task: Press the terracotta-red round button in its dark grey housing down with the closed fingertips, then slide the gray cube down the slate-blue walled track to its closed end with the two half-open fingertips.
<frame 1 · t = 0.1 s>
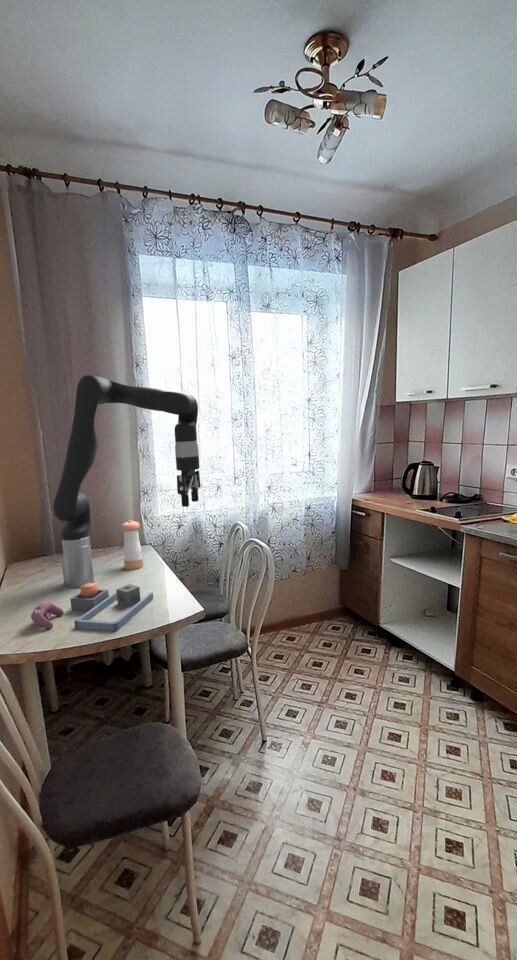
hand: (190, 503, 143), 29 cm above the table, tool pointing down, fingers open, 8 cm apart
pepper shaker: (134, 567, 173), on the table
button housing: (90, 606, 136), on the table
gray cube: (129, 603, 137), on the table
track: (117, 612, 130), on the table
button: (89, 590, 135), point 5 cm above the table, slide at 0.0 cm
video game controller: (48, 623, 126), on the table
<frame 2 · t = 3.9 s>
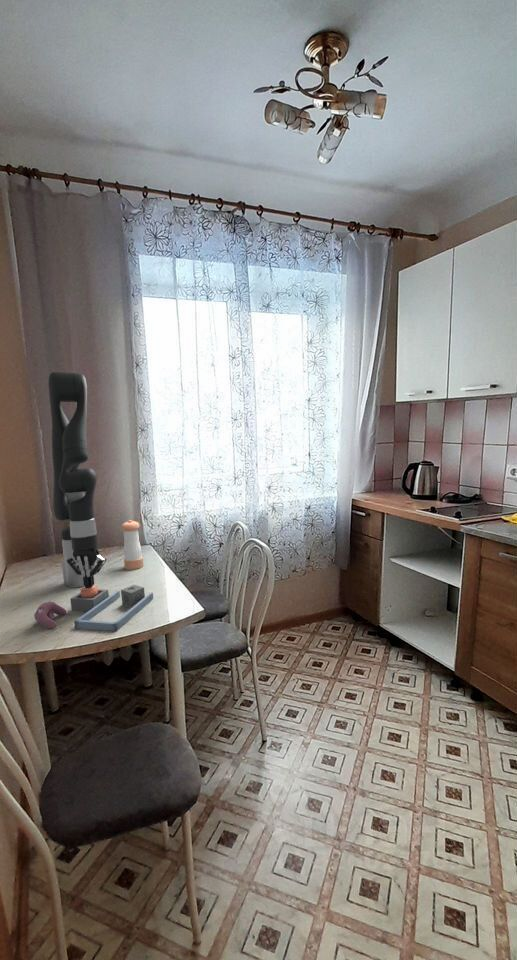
hand: (89, 587, 135), 6 cm above the table, tool pointing down, fingers closed
gray cube: (133, 604, 136), on the table
button: (89, 592, 135), point 5 cm above the table, slide at 0.7 cm, touching gripper
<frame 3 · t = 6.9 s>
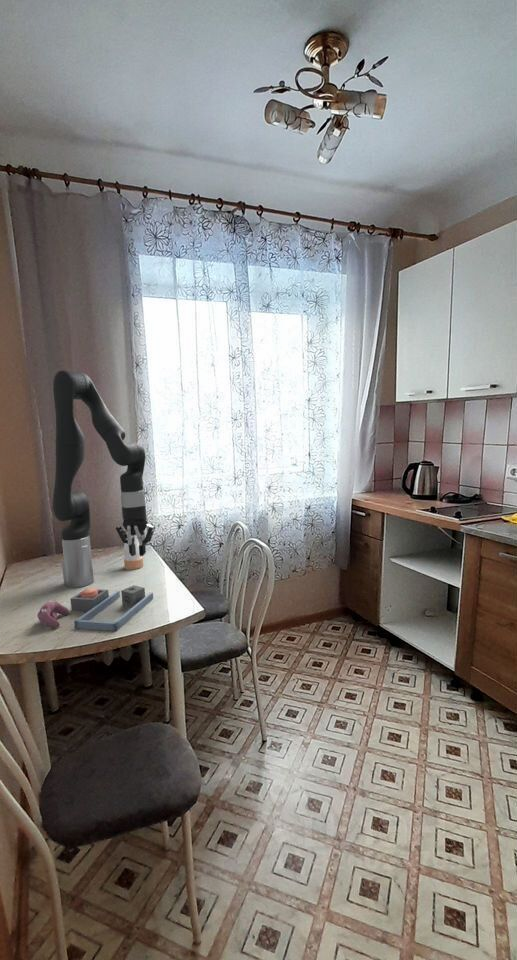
hand: (137, 555, 143), 13 cm above the table, tool pointing down, fingers closed
button: (89, 596, 135), point 3 cm above the table, slide at 1.9 cm
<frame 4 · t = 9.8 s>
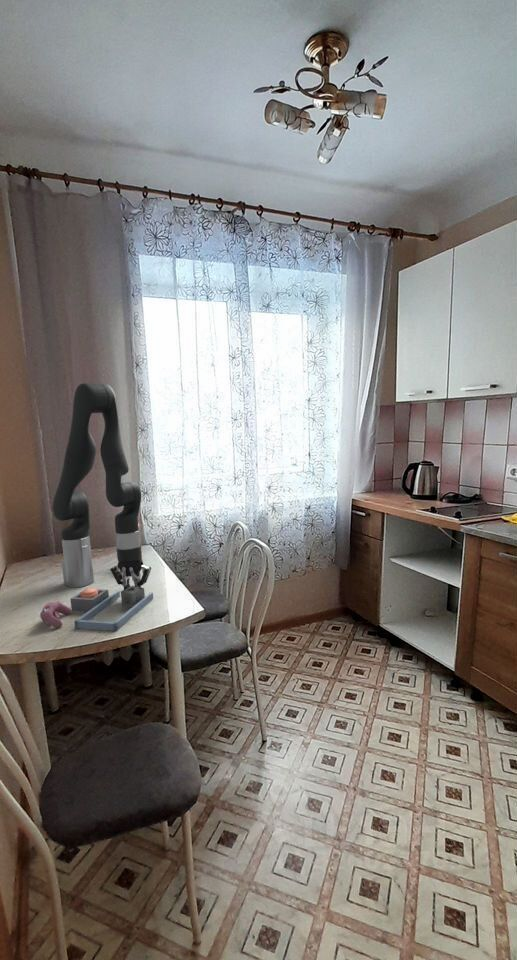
hand: (133, 596, 139), 1 cm above the table, tool pointing down, fingers closed
gray cube: (133, 605, 135), on the table, touching gripper
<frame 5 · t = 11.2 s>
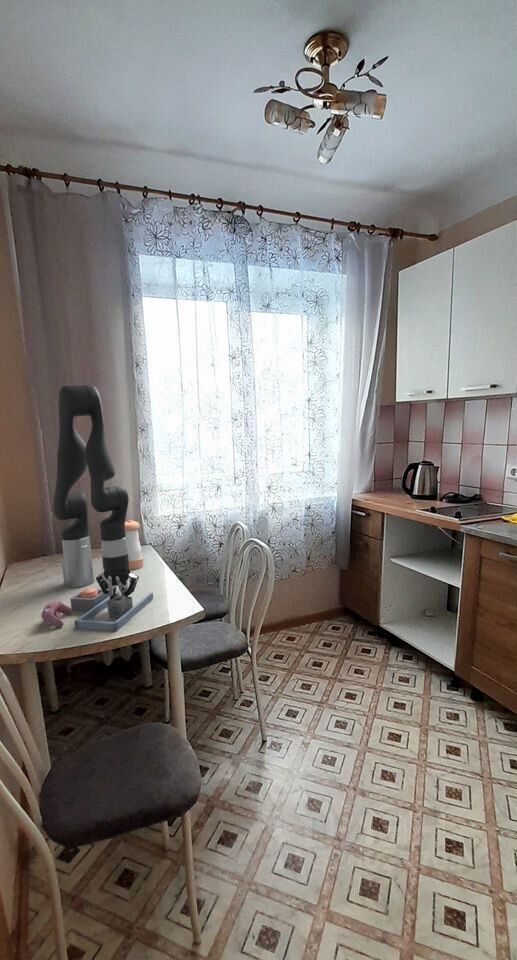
hand: (120, 606, 132), 1 cm above the table, tool pointing down, fingers closed
gray cube: (121, 616, 128), on the table, touching gripper
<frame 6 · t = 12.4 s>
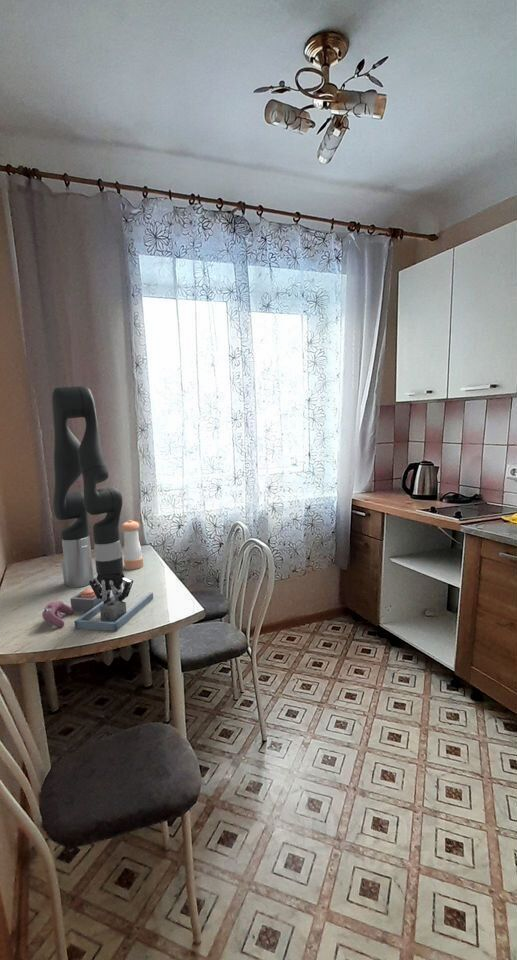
hand: (114, 611, 129), 1 cm above the table, tool pointing down, fingers closed
gray cube: (114, 621, 125), on the table, touching gripper
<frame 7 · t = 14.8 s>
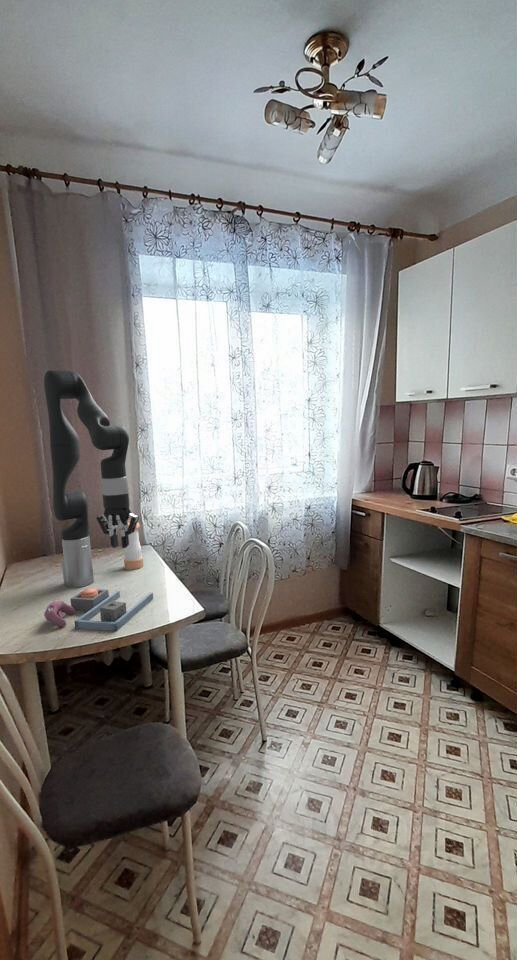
hand: (120, 547, 133), 19 cm above the table, tool pointing down, fingers closed
gray cube: (114, 622, 124), on the table
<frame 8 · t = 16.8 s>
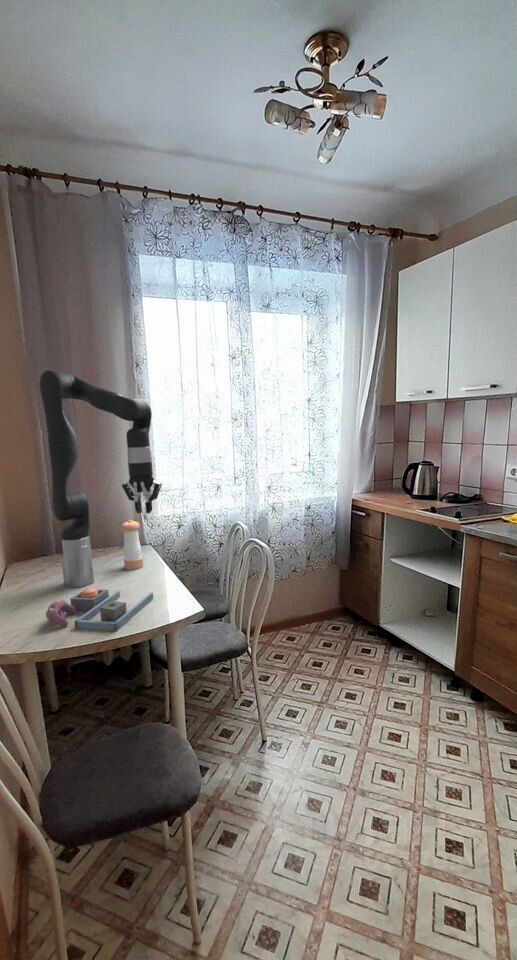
hand: (144, 512, 143), 27 cm above the table, tool pointing down, fingers closed
at the end: button slide at 1.9 cm; gray cube inside the target area on the track (2.8 cm from its centre), point 0.0 cm above the track's base; gray cube moved 13.0 cm from its start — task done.
